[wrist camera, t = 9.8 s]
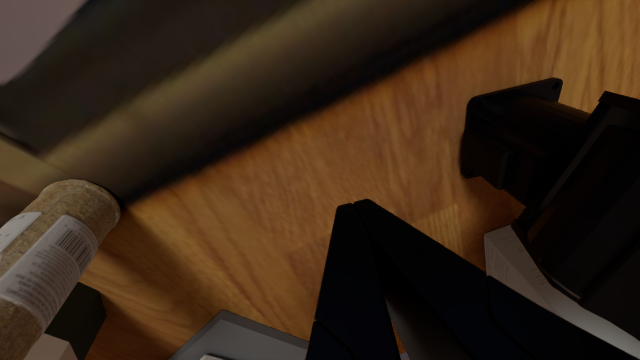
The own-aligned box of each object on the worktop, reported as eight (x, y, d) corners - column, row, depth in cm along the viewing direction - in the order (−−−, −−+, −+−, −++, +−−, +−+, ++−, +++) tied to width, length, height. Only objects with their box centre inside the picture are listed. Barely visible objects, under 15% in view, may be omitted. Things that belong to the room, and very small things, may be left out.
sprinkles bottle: (35, 172, 18) (-377, 478, 6) (119, 181, 19) (-101, 452, 7) (52, 229, 20) (-230, 531, 9) (127, 233, 21) (-35, 504, 10)
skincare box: (535, 263, 31) (714, 438, 19) (481, 283, 32) (622, 467, 19) (541, 208, 27) (783, 390, 14) (478, 231, 27) (661, 429, 14)
